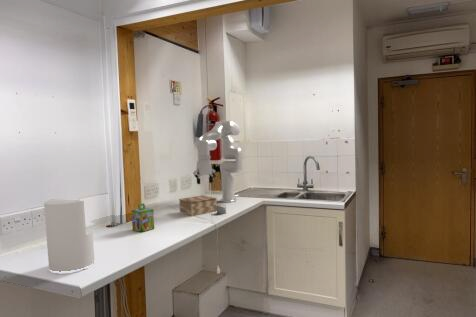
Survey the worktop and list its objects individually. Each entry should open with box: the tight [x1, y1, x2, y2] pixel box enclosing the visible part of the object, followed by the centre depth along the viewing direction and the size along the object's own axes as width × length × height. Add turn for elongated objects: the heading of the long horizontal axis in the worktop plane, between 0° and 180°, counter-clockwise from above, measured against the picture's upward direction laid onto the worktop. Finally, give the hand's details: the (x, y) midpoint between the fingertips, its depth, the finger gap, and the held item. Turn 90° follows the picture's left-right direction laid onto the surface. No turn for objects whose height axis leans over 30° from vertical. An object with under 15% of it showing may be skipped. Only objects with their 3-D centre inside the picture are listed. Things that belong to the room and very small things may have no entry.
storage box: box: [178, 199, 218, 217], centre depth 241 cm, size 20×16×8 cm
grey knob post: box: [216, 204, 227, 215], centre depth 234 cm, size 6×6×5 cm
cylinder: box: [43, 199, 96, 272], centre depth 145 cm, size 17×17×28 cm
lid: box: [178, 194, 217, 204], centre depth 241 cm, size 20×16×1 cm
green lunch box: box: [130, 203, 155, 233], centre depth 199 cm, size 9×9×15 cm
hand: (204, 183), depth 238 cm, fingers open, 9 cm apart
